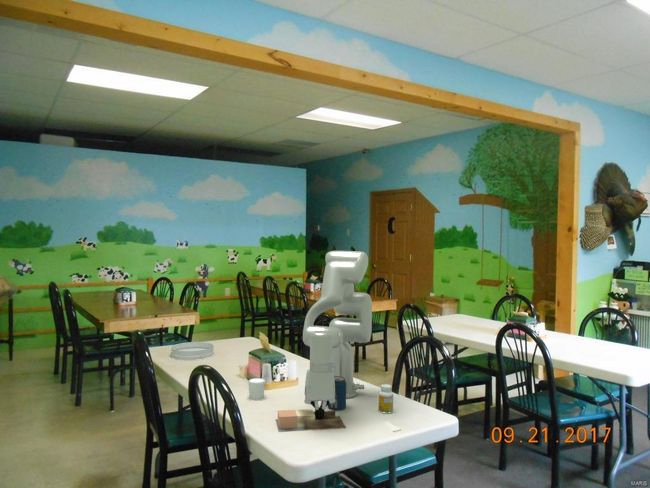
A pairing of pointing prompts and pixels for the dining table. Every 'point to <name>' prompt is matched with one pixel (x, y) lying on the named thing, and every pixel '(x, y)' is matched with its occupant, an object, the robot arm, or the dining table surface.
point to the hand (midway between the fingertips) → (319, 419)
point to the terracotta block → (287, 419)
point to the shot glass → (256, 388)
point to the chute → (319, 423)
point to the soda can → (339, 394)
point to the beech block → (304, 417)
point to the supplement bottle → (386, 399)
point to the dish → (192, 351)
